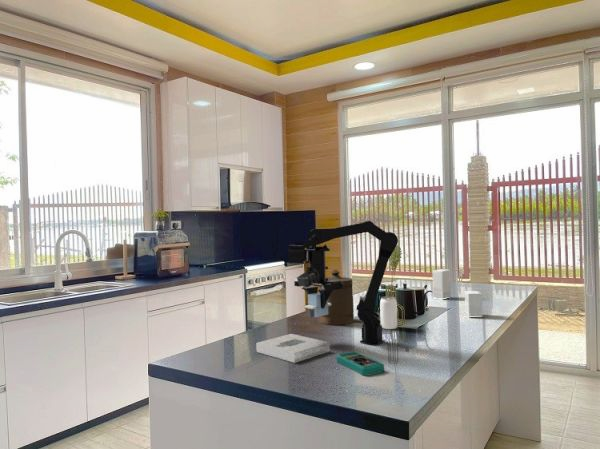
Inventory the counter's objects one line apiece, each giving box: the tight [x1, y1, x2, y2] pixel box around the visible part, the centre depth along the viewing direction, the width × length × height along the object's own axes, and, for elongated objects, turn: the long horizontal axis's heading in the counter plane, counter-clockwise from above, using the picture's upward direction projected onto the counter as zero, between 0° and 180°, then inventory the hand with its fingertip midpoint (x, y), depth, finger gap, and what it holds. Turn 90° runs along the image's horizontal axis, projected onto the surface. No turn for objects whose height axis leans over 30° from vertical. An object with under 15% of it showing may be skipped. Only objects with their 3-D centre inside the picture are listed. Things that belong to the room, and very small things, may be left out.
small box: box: [464, 290, 484, 317], centre depth 195 cm, size 8×6×10 cm
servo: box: [304, 292, 331, 318], centre depth 159 cm, size 4×10×8 cm, turn 135°
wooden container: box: [318, 269, 355, 326], centre depth 191 cm, size 15×15×22 cm
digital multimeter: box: [336, 351, 385, 376], centre depth 130 cm, size 7×15×3 cm, turn 27°
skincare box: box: [431, 268, 452, 298], centre depth 241 cm, size 8×7×16 cm
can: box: [379, 295, 398, 330], centre depth 177 cm, size 6×6×12 cm
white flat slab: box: [255, 333, 331, 364], centre depth 147 cm, size 18×16×3 cm
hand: (318, 307), depth 159 cm, fingers closed on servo, 4 cm apart
